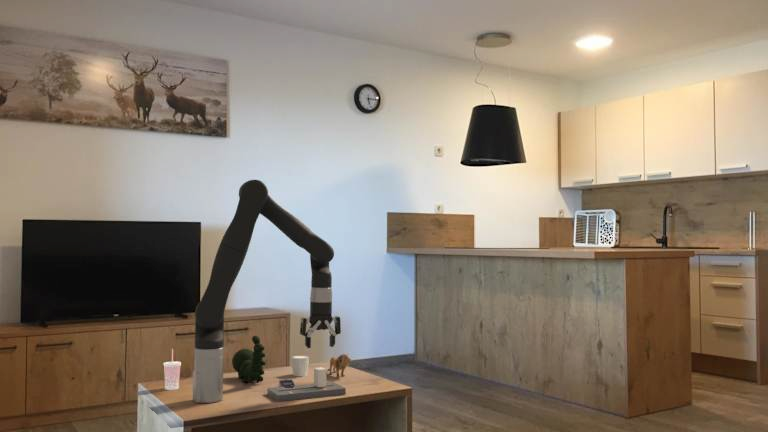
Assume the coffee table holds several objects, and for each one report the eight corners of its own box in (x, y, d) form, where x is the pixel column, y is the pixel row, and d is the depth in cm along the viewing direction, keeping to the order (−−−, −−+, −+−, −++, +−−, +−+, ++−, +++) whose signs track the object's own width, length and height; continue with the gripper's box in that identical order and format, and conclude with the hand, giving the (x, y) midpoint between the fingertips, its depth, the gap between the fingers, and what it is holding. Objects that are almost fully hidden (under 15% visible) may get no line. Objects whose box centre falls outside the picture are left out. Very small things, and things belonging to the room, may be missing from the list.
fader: (318, 392, 228) (318, 369, 228) (313, 390, 231) (314, 367, 232) (326, 391, 229) (326, 369, 230) (321, 389, 233) (322, 367, 233)
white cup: (307, 376, 257) (307, 358, 258) (290, 376, 257) (290, 358, 258) (309, 373, 264) (310, 355, 264) (292, 373, 264) (292, 355, 264)
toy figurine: (270, 389, 242) (249, 371, 264) (273, 338, 241) (251, 324, 263) (245, 392, 237) (226, 373, 259) (247, 340, 236) (228, 325, 258)
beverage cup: (182, 389, 235) (183, 349, 236) (165, 391, 232) (165, 350, 232) (178, 385, 240) (179, 346, 241) (161, 387, 237) (161, 348, 238)
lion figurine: (353, 377, 256) (353, 354, 256) (341, 379, 253) (342, 355, 253) (332, 371, 268) (332, 349, 268) (321, 373, 264) (321, 350, 265)
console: (278, 401, 217) (278, 395, 217) (267, 393, 228) (267, 387, 228) (345, 394, 228) (345, 388, 228) (332, 387, 239) (332, 381, 239)
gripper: (305, 301, 225) (304, 350, 224) (344, 300, 231) (343, 347, 231) (298, 300, 232) (297, 346, 231) (335, 299, 238) (335, 344, 237)
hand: (320, 347), depth 231 cm, fingers open, 8 cm apart
